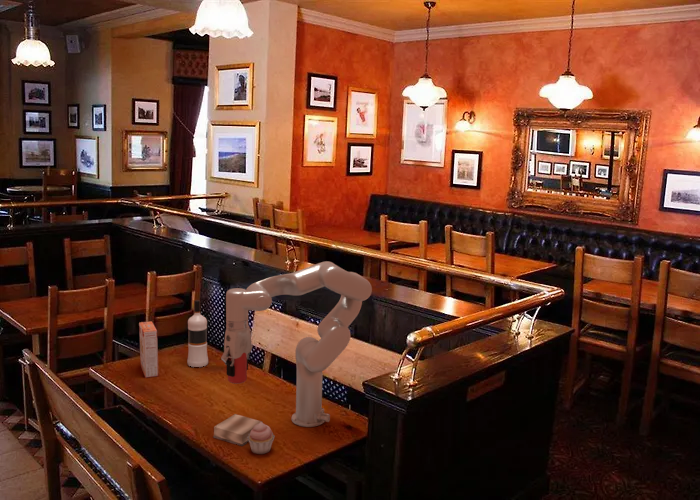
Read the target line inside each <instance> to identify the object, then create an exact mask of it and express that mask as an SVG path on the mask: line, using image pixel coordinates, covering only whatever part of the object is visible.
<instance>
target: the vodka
mask: <svg viewBox="0 0 700 500" xmlns="http://www.w3.org/2000/svg"><path fill="white" fill-rule="evenodd" d="M193 304H194V310H193V311H194V314H193V315H192V316H190V317H189V318H188V320H187V329H188V331H187V333H188V335H187V336H188V337H187V338H188V343H187V345H188V354H187V360H186V361H187V366H189V367H190V366H191V368H194V367H199V368H203V366H204V367H206V366H207V365H208V364H209V357H208V350H207V349H208V342H207V338H208V336H207V330H208V319H207V318H206V317H205V316H204V315H202V314H201V300H199V299H195V300H194V301H193Z"/></svg>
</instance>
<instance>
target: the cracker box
mask: <svg viewBox="0 0 700 500" xmlns="http://www.w3.org/2000/svg"><path fill="white" fill-rule="evenodd" d="M138 326H139V327H138V328H139V329H138V330H139V351H140V354H139V355H140V367H141V371H142V372H143V373H142V374H143V375H144V379H146V378H154V377H159V355H158V353H159V351H158V350H159V349H158V330H157V328H156V326H155V324H154V322H153V321H141V322H140V321H139V323H138Z"/></svg>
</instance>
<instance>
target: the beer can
mask: <svg viewBox="0 0 700 500" xmlns="http://www.w3.org/2000/svg"><path fill="white" fill-rule="evenodd" d="M230 356H231V355H230ZM231 360H232V358H230V361H231ZM234 366H235V376H234V377H231V376H228V375H227V381H228V382H229V383H231V384H235V385H238V384H243V383H245V382H246V381H247V379H248V376H247V375H248V374H247V373H248V370H247V354H246V353H243V354H242V355H241V357H239V358H237V359H235V361H234Z"/></svg>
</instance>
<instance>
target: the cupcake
mask: <svg viewBox="0 0 700 500" xmlns="http://www.w3.org/2000/svg"><path fill="white" fill-rule="evenodd" d="M247 439H248V440H249V442H248V443H249V446H250V449H251V452H252V453H253V454H257V455H264V454H268V453H269V452H270V451H271V448H272V445H273V442H274V439H275V435H274V433H273V431H272V429H271V427H270V426H269V425H267V424H265V423H263V421H262V422H260V423H259V424H257V425H255V426H254V427H253V429H252V430H251V432H250V434H249V436H248V437H247Z"/></svg>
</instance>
